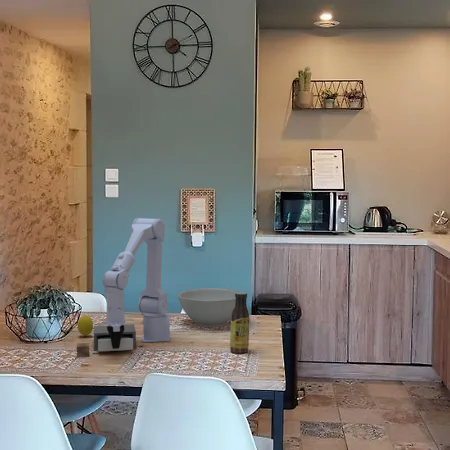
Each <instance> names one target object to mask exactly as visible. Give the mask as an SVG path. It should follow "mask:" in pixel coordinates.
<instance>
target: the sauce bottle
mask: <svg viewBox="0 0 450 450" xmlns="http://www.w3.org/2000/svg"><path fill="white" fill-rule="evenodd" d="M235 297H236V301H235V308H234V309H233V311H232V315H231V316H232V317H231V320H230V338H229V339H230V340H229V346H230V347H229V349H230V352H232V353H234V354H244V353H247V352H248V351H249V345H250V343H249V342H250V320H251V319H250V313H249V310H248V306H247V305H248V304H247V298H248V293H247V292H245V291H244V292H243V291H241V292H236V293H235Z"/></svg>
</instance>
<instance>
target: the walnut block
mask: <svg viewBox="0 0 450 450" xmlns="http://www.w3.org/2000/svg"><path fill="white" fill-rule="evenodd" d="M89 357H90V343H89V342H84V343H82V342H81V343H76V358H89Z"/></svg>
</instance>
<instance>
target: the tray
mask: <svg viewBox="0 0 450 450" xmlns="http://www.w3.org/2000/svg"><path fill="white" fill-rule="evenodd" d="M109 338H110V337H109ZM122 338H123V339H121V342H120V347H119V349H113V348H112V343H111V339H107V338H98V351H97V352H111V351H112V352H114V351H115V352H116V351H130V350H131V351H133V350H134V349H133V338H131V337H122Z"/></svg>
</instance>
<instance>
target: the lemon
mask: <svg viewBox="0 0 450 450" xmlns="http://www.w3.org/2000/svg"><path fill="white" fill-rule="evenodd" d="M77 330H78V332H79V334H81V335H82V336H84V337H87V336H88V335H90V334H92V332H93V331H94V323H93V319H92V318H91V317H90V316H88V315H86V314H84V315H83V316H81V317H80V318H79V319H78V321H77Z"/></svg>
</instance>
